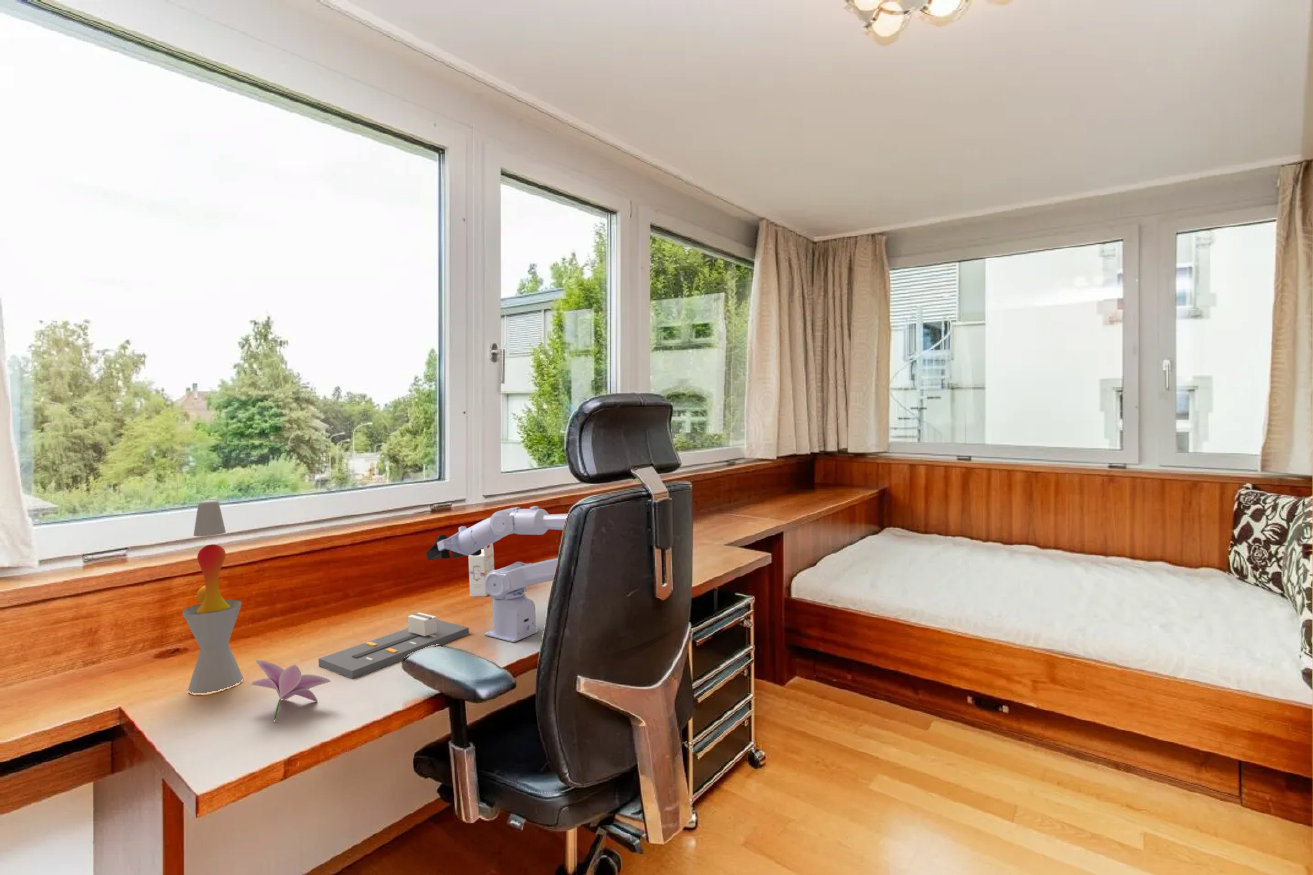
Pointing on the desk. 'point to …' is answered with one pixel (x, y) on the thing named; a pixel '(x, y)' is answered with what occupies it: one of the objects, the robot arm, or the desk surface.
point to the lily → (288, 681)
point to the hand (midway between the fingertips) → (440, 555)
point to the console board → (388, 649)
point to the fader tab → (422, 624)
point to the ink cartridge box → (480, 571)
